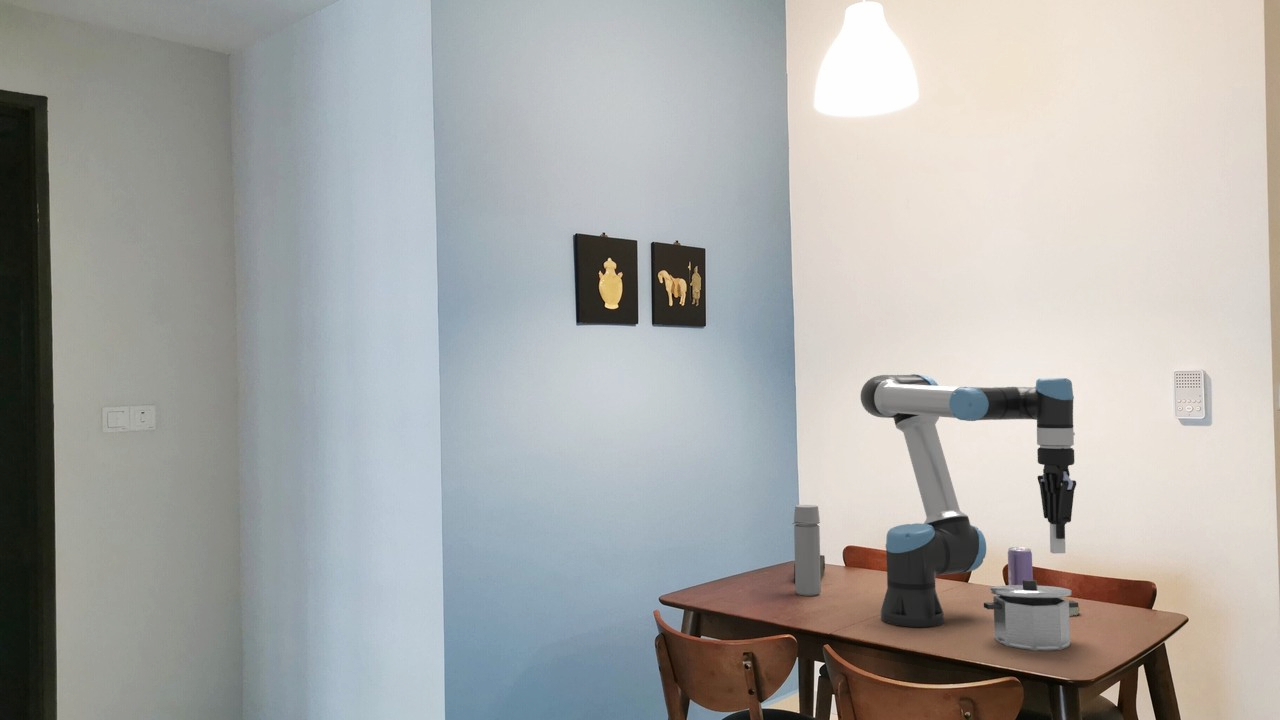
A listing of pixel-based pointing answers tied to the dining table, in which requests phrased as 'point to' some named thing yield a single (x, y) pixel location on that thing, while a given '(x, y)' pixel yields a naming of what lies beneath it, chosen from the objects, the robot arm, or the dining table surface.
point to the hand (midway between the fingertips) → (1057, 552)
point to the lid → (1030, 590)
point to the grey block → (1073, 610)
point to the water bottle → (807, 550)
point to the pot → (1032, 622)
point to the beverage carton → (822, 566)
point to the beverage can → (1019, 565)
